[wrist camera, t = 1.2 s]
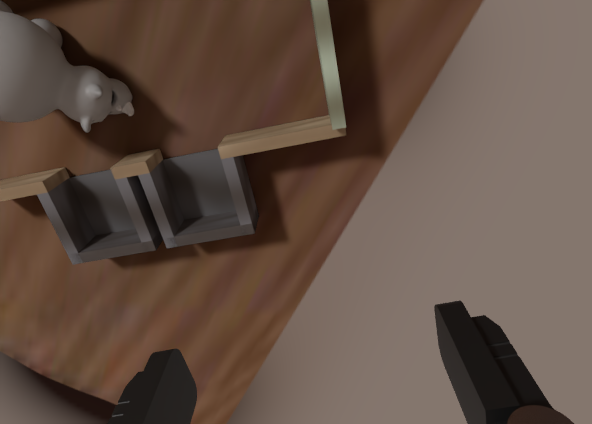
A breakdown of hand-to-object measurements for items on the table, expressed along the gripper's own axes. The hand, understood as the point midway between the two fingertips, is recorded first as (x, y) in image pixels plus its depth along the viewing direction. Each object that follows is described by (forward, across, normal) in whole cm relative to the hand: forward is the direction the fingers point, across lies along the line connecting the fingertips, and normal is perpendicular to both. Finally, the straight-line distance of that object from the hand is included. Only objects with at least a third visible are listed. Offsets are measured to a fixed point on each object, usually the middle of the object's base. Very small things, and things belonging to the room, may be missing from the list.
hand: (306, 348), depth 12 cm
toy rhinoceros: (+25, +17, -10) cm, 32 cm away
